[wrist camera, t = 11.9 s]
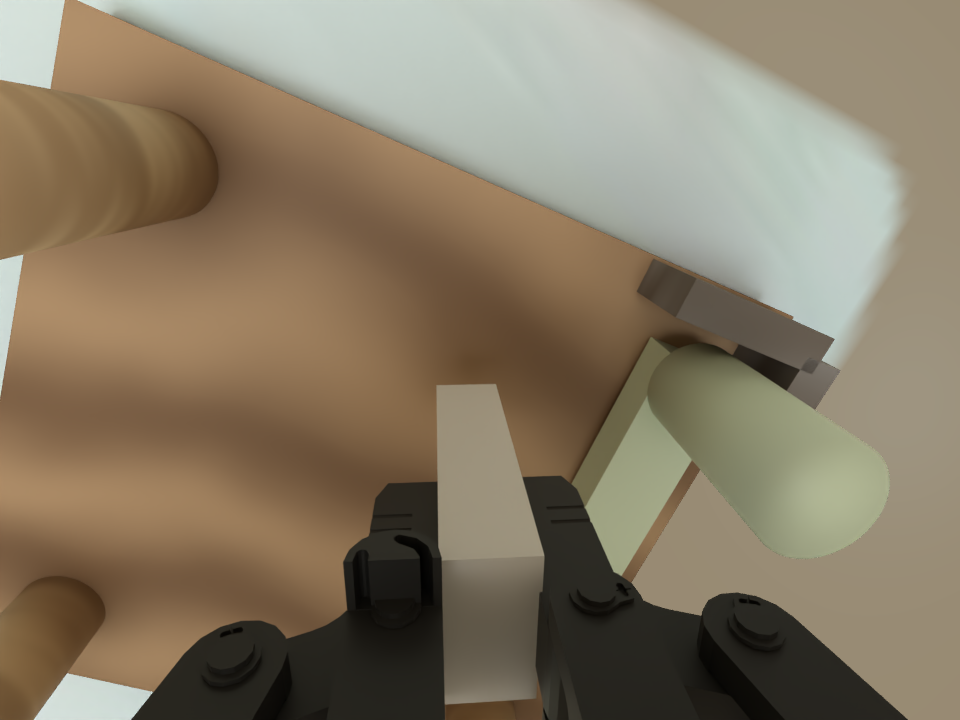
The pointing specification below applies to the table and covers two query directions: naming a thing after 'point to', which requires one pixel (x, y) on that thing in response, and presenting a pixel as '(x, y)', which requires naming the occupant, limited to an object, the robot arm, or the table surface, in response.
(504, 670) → the robot arm
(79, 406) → the stool seat
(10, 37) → the table surface
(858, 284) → the table surface
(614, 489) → the hinged leg
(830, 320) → the table surface
